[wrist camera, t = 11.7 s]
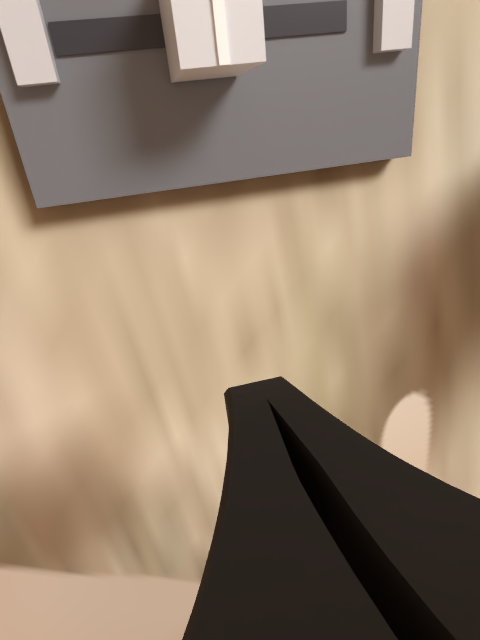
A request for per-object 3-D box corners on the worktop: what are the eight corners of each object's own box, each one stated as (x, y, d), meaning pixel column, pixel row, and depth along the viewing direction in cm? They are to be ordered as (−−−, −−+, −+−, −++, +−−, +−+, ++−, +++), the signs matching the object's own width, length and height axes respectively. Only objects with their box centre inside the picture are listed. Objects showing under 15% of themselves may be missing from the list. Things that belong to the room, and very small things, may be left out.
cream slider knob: (228, -32, 13) (258, -83, 10) (238, 75, 15) (267, 60, 11) (153, -28, 13) (160, -80, 10) (171, 82, 14) (181, 68, 11)
